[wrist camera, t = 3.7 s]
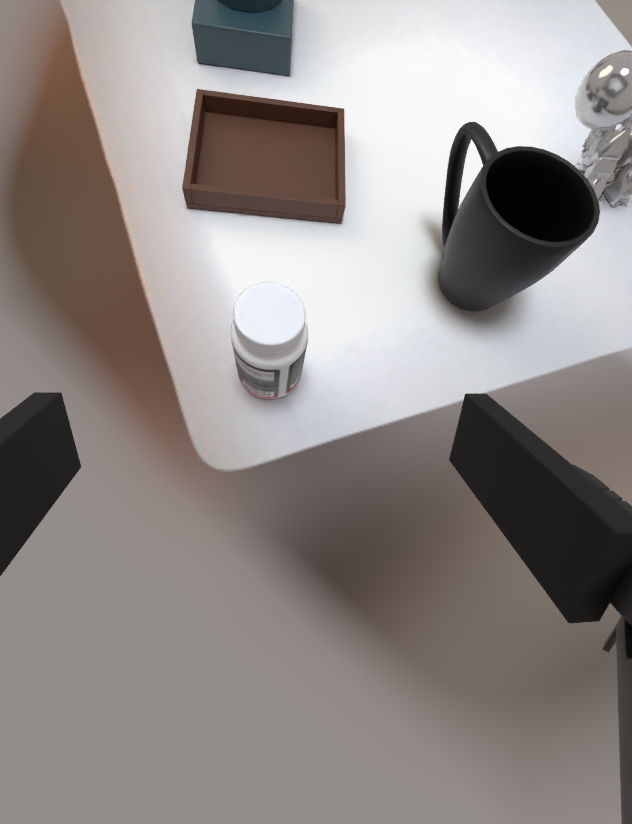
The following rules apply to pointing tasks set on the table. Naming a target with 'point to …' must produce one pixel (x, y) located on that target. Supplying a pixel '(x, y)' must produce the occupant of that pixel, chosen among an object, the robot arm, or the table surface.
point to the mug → (509, 220)
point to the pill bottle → (269, 339)
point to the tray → (266, 158)
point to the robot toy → (607, 126)
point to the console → (244, 34)
